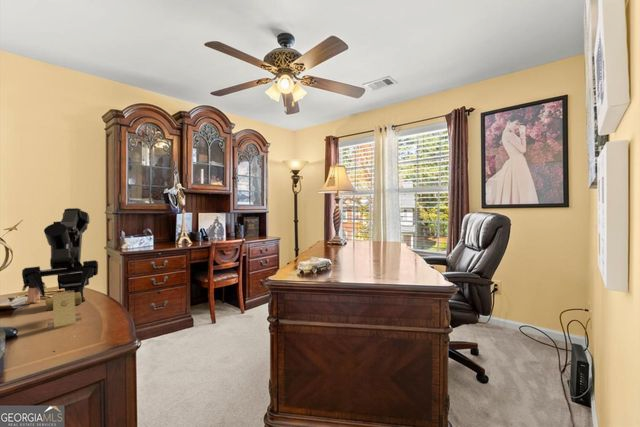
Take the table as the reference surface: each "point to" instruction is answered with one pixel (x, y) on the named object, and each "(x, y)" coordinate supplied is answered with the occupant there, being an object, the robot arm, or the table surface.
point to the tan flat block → (51, 326)
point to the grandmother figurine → (33, 294)
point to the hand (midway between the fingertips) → (63, 293)
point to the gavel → (50, 301)
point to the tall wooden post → (64, 308)
